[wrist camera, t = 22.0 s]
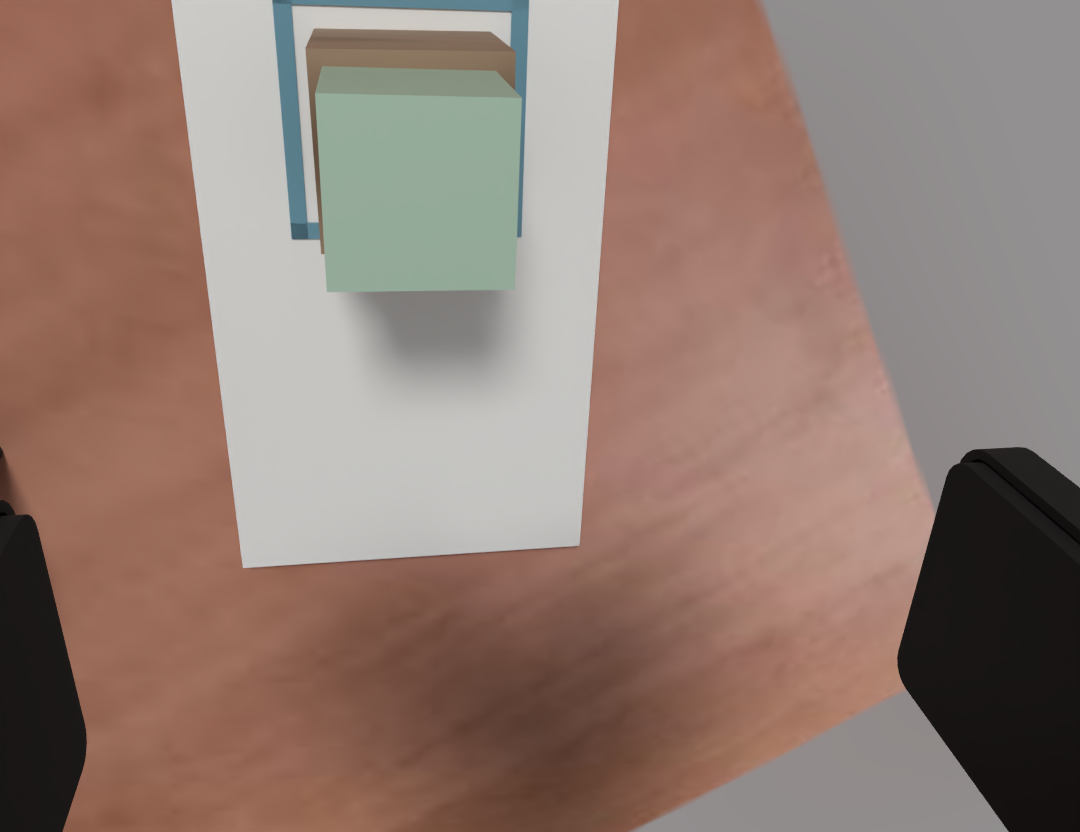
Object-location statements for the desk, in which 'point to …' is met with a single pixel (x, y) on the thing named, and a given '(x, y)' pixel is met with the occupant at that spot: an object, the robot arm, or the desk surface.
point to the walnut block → (400, 61)
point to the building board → (396, 299)
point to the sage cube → (418, 178)
